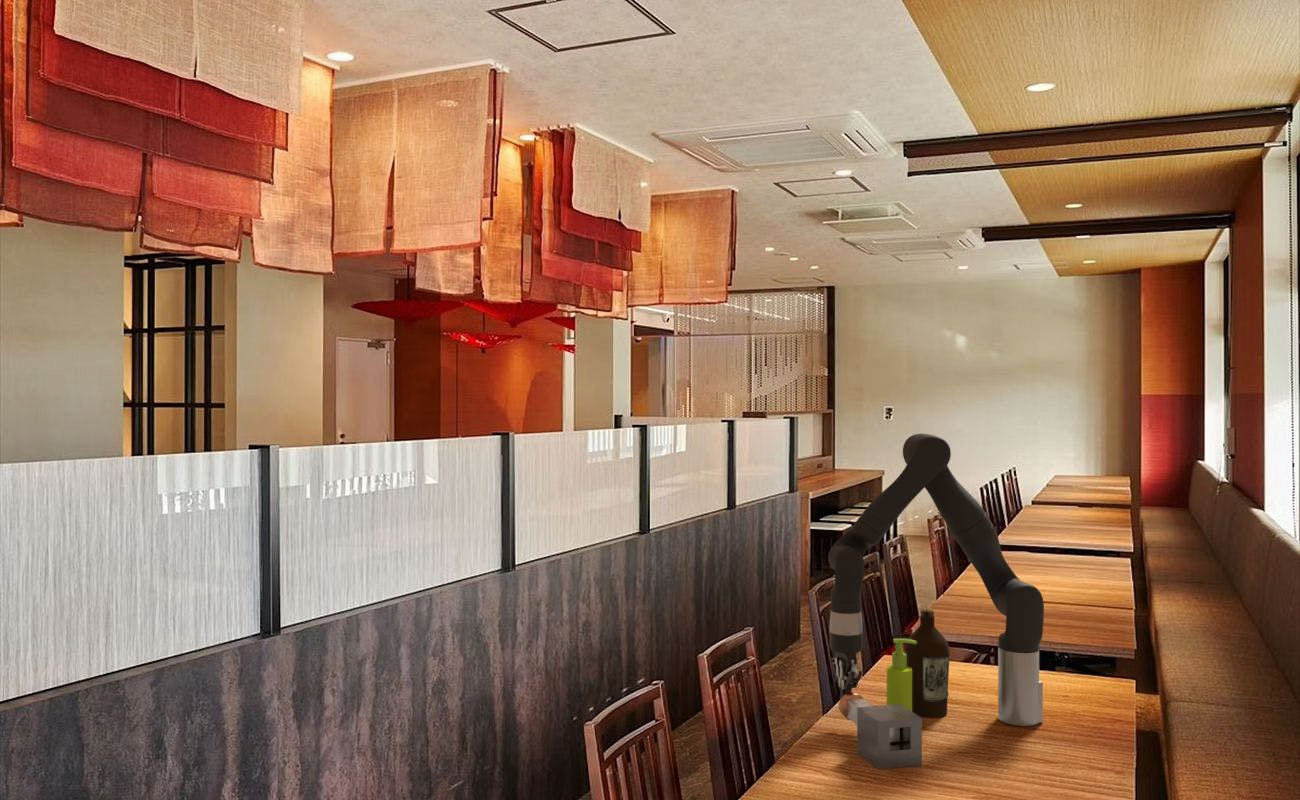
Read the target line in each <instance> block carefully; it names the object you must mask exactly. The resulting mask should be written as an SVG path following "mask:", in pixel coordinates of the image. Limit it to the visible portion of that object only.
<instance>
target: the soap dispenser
mask: <svg viewBox="0 0 1300 800" xmlns="http://www.w3.org/2000/svg"><path fill="white" fill-rule="evenodd" d="M892 640H893V644H895V650H894V652H892V653H891V665H888V666H886V705H893V704H900V705H902V706H903V707H905V708H907V709H908V710H910V711H911V712H912V668H911V667H908V666H907V654H906V653H905V651H904V644H906V643H911V644H916V643H917V641H915V640H911V639H908V638H905V637H904V638H903V637H902V638H893V639H892Z"/></svg>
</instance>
